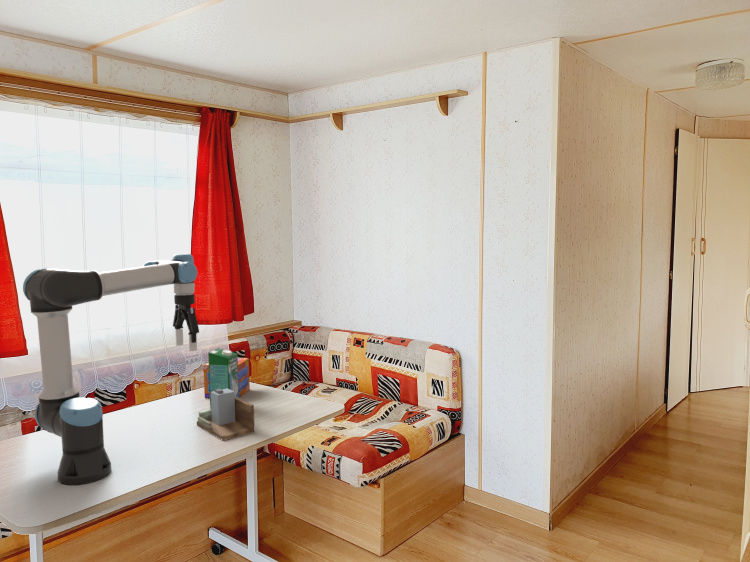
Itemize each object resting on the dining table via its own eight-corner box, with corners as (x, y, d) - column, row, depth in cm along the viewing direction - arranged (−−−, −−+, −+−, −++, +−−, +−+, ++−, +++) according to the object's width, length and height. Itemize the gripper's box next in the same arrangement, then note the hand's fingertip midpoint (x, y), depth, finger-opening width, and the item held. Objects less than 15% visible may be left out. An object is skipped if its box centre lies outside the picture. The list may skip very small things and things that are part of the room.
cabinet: (218, 425, 220) (217, 392, 219) (211, 421, 225) (210, 389, 224) (235, 421, 225) (234, 389, 224) (228, 417, 230) (227, 385, 228)
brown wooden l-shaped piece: (222, 440, 209) (221, 412, 208) (196, 425, 226) (195, 399, 225) (254, 431, 218) (253, 404, 217) (227, 417, 234) (226, 392, 233)
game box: (219, 388, 276) (218, 356, 274) (250, 390, 273) (249, 357, 272) (204, 398, 261) (203, 364, 259) (236, 400, 258) (235, 366, 256)
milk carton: (230, 411, 242) (228, 352, 240) (210, 410, 244) (208, 352, 242) (239, 404, 251) (237, 348, 249) (220, 403, 253) (218, 347, 250)
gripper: (207, 296, 216) (208, 351, 218) (181, 290, 235) (183, 341, 237) (187, 297, 211) (189, 354, 213) (163, 291, 230) (165, 344, 232)
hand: (186, 348), depth 225 cm, fingers open, 13 cm apart
